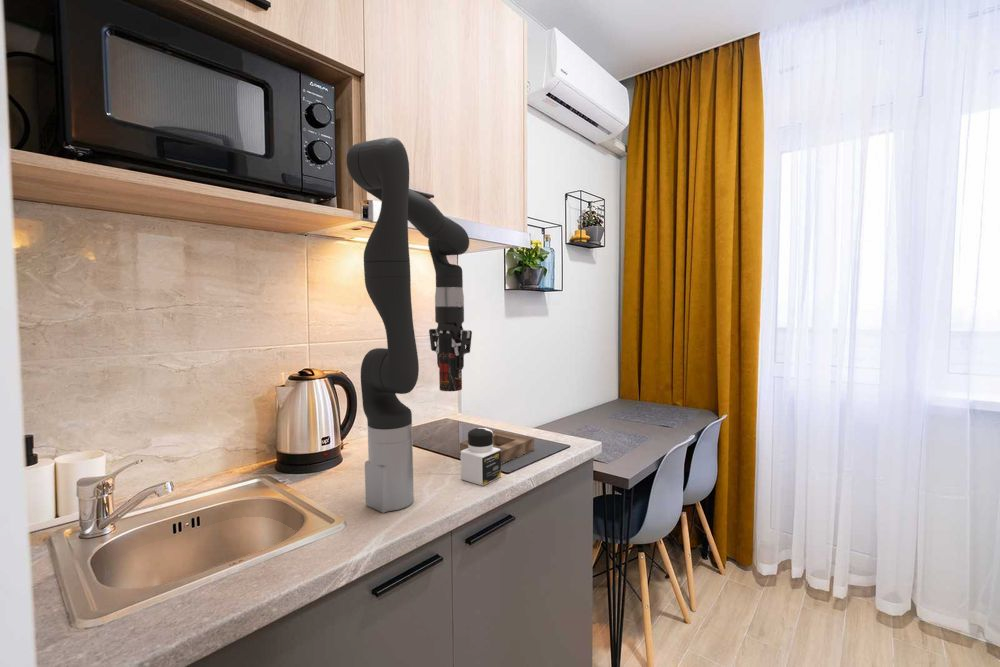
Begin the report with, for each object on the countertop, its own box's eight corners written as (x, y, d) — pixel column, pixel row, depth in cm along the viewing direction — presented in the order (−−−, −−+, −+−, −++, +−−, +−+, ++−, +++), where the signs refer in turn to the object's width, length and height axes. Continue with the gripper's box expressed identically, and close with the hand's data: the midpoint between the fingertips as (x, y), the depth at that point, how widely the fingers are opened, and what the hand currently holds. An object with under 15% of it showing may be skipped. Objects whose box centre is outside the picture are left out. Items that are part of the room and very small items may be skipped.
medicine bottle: (483, 486, 109) (482, 435, 108) (460, 479, 114) (459, 430, 113) (501, 477, 115) (501, 428, 114) (479, 470, 119) (478, 424, 118)
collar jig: (498, 466, 123) (498, 452, 122) (459, 455, 131) (459, 442, 131) (534, 450, 135) (533, 438, 135) (496, 441, 144) (496, 430, 143)
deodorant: (441, 387, 128) (440, 332, 127) (463, 387, 128) (462, 332, 127) (437, 391, 122) (436, 333, 121) (460, 391, 122) (459, 333, 121)
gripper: (420, 305, 125) (421, 367, 126) (459, 305, 116) (459, 372, 117) (441, 304, 131) (442, 364, 132) (479, 304, 122) (480, 369, 123)
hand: (450, 368), depth 124 cm, fingers closed on deodorant, 6 cm apart
